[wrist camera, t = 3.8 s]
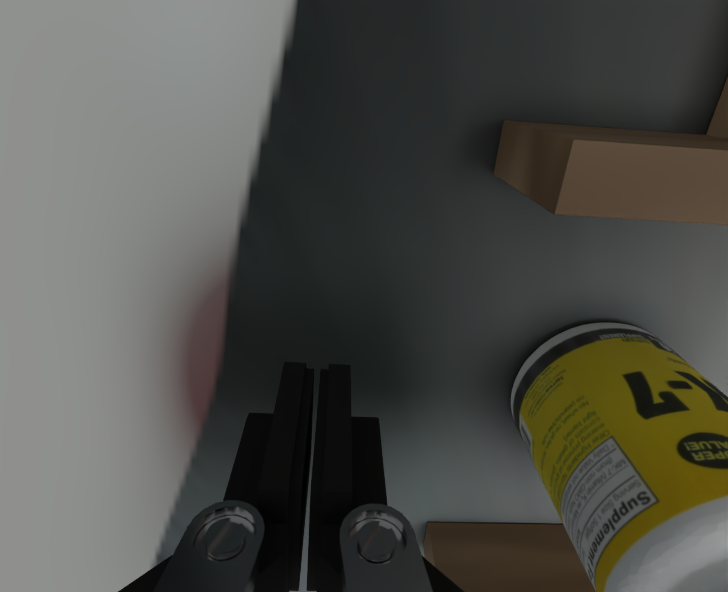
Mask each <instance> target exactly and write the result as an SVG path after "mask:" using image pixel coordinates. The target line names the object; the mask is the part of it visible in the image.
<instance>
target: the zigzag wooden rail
mask: <svg viewBox="0 0 728 592" xmlns="http://www.w3.org/2000/svg"><path fill="white" fill-rule="evenodd" d="M494 175H496V176H497V177H499V178H500V179H502V180H503V181H505V182H506V183H508V184H509V185H511V186H512V187H514V188H515V189H517V190H518V191H520V192H521V193H523V194H524V195H526V196H527V197H529V198H530V199H532V200H533V201H535V202H536V203H538V204H539V205H541V206H542V207H544V208H545V209H547V210H548V211H550V212H551V213H553V214H554V215H570V216H587V217H603V218H620V219H636V220H653V221H669V222H686V223H702V224H719V225H728V77H727V80H726V83H725V85H724V88H723V91H722V93H721V96H720V99H719V101H718V104H717V107H716V109H715V112H714V115H713V118H712V120H711V123H710V126H709V128H708V131H707V134H706V135H700V134H686V133H673V132H659V131H646V130H632V129H618V128H605V127H591V126H578V125H564V124H551V123H537V122H523V121H510V120H504V121H503V127H502V132H501V137H500V142H499V148H498V153H497V158H496V164H495V169H494ZM423 548H424V554H425V559H426V560H428V561H429V562H430V563H431V564H432V565H433V566H435V567H436V568H437V569H438V570H439V571H441V572H442V573H443V574H444V575H445V576H447V577H448V578H449V579H450V580H451V581H452V582H454V583H455V584H456V585H457V586H458V587H460V588H461V589H462V590H463V591H464V592H595V589H594V587H593V585H592V583H591V581H590V579H589V576H588V574H587V572H586V570H585V568H584V566H583V564H582V562H581V560H580V558H579V556H578V554H577V551H576V549H575V547H574V545H573V543H572V541H571V539H570V537H569V535H568V533H567V531H566V529H565V527H564V525H554V524H490V523H427V528H426V533H425V538H424V543H423Z"/></svg>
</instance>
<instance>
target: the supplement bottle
mask: <svg viewBox="0 0 728 592" xmlns="http://www.w3.org/2000/svg"><path fill="white" fill-rule="evenodd" d="M511 411H512V415H513V419H514V422H515V424H516V426H517V429H518V431H519V432H520V435H521V438H522V440H523V441H524V443H525V445H526V448H527V450H528V452H529V454H530V456H531V458H532V460H533V462H534V464H535V466H536V468H537V470H538V473H539V475H540V477H541V479H542V481H543V483H544V485H545V487H546V489H547V492H548V494H549V496H550V498H551V500H552V502H553V504H554V506H555V508H556V510H557V512H558V514H559V516H560V518H561V520H562V523H563V525H564V527H565V529H566V531H567V533H568V535H569V537H570V539H571V541H572V543H573V545H574V547H575V549H576V551H577V554H578V556H579V558H580V560H581V562H582V564H583V566H584V568H585V570H586V572H587V574H588V576H589V579H590V581H591V583H592V585H593V587H594V589H595V592H728V397H727V396H726V395H725V394H723V393H722V392H721V391H720V390H719V389H718V388H717V387H715V386H714V385H713V384H712V383H710V382H709V381H708V380H707V379H706V378H705V377H703V376H702V375H701V374H700V373H699V372H697V371H696V370H695V369H694V368H693V367H692V366H690V365H689V364H688V363H687V362H686V361H685V360H684V359H682V358H681V357H680V356H679V355H678V354H677V353H676V352H674V351H673V350H672V349H671V348H669V347H668V346H667V345H666V344H664V343H663V342H662V341H661V340H659V339H658V338H657V337H655V336H654V335H652V334H651V333H649V332H647V331H645V330H643V329H641V328H638V327H635V326H631V325H627V324H621V323H592V324H586V325H581V326H578V327H574V328H571V329H569V330H566V331H564V332H562V333H560V334H558V335H556V336H554V337H553V338H551V339H549V340H548V341H547V342H545V343H544V344H542V345H541V346H540V347H539V348H538V349H537V350H536V351H534V352H533V353H532V354H531V355H530V357H529V358H528V359H527V360H526V362H525V363H524V364H523V366H522V367H521V369H520V371H519V373H518V375H517V377H516V379H515V382H514V385H513V388H512V393H511Z"/></svg>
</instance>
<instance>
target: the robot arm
mask: <svg viewBox="0 0 728 592" xmlns="http://www.w3.org/2000/svg"><path fill="white" fill-rule="evenodd" d="M313 386H314V369H306V363H294V362H285V363H284V367H283V372H282V376H281V381H280V386H279V391H278V395H277V400H276V405H275V410H274V414H267V413H249V414H248V417H247V420H246V423H245V427H244V430H243V434H242V437H241V441H240V444H239V448H238V451H237V455H236V458H235V462H234V465H233V469H232V472H231V476H230V479H229V483H228V486H227V490H226V493H225V497H224V500H223V501H222V502H218V503H214V504H212V505H210V506H208V507H206V508H204V509H203V510H202V511H201V512H199V513H198V514H197V515H196V516H195V517H194V518H193V519H192V521H191V522H190V524H189V525H188V526H187V528H186V530H185V532H184V534H183V536H182V538H181V540H180V542H179V544H178V545H177V547H176V549H175V551H174V553H173V555H171V556H170V557H168V558H167V559H166V560H164V561H163V562H161V563H160V564H158V565H157V566H155V567H154V568H152V569H151V570H149V571H148V572H146V573H145V574H143V575H142V576H141V577H139V578H138V579H136V580H135V581H133V582H132V583H130V584H129V585H127V586H126V587H124V588H123V589H121V590H120V591H118V592H289V591H299V582H300V571H301V560H302V548H303V537H304V526H305V515H306V504H307V493H308V482H309V471H310V459H311V439H312V413H313ZM307 591H317V592H464V591H463V590H462V589H461V588H460V587H458V586H457V585H456V584H455V583H454V582H452V581H451V580H450V579H449V578H448V577H447V576H445V575H444V574H443V573H442V572H441V571H439V570H438V569H437V568H436V567H435V566H433V565H432V564H431V563H430V562H429V561H428V560H426V559H425V558H424V557H423V556H422V555H421V552H420V549H419V546H418V543H417V540H416V536H415V533H414V530H413V528H412V526H411V524H410V522H409V521H408V520H407V519H406V518H405V516H404V515H403V514H402V513H400V512H399V511H397V510H396V509H394V508H392V507H390V506H387V497H386V487H385V477H384V467H383V456H382V446H381V436H380V426H379V419H378V418H376V417H351V379H350V365H340V364H329V370H325V369H321V372H320V384H319V396H318V408H317V420H316V432H315V444H314V456H313V468H312V480H311V496H310V520H309V546H308V571H307Z"/></svg>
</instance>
